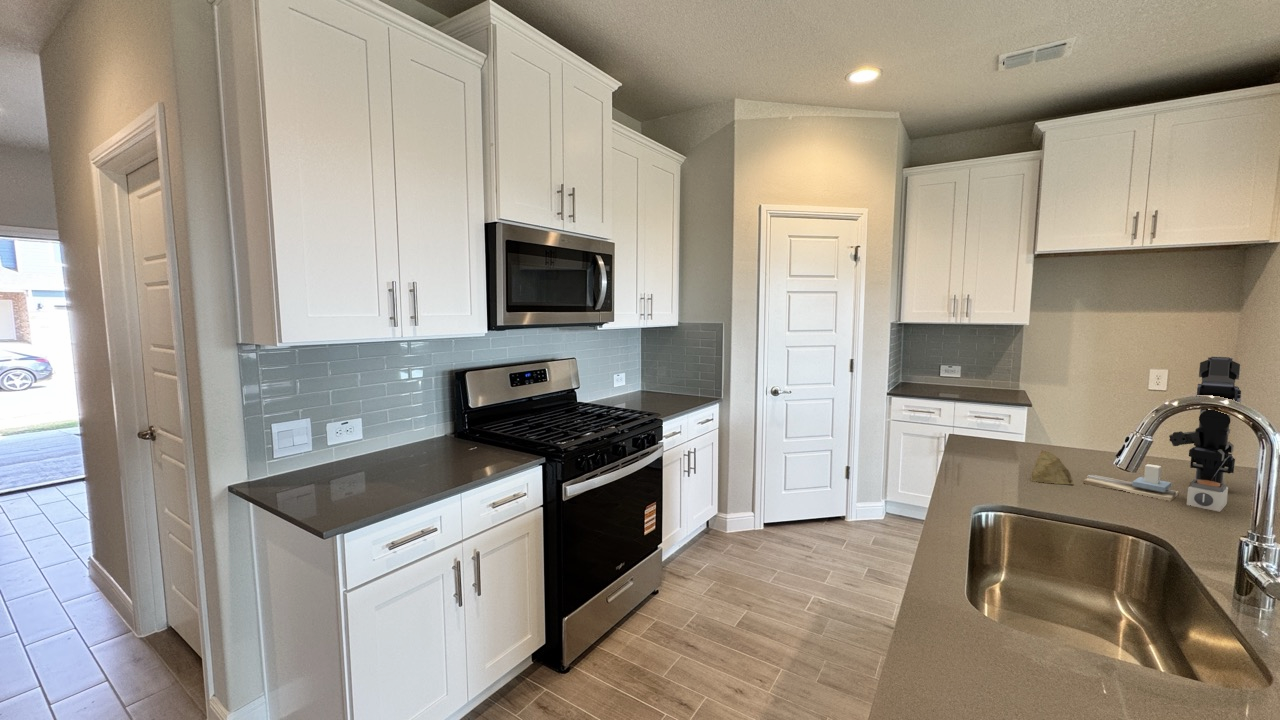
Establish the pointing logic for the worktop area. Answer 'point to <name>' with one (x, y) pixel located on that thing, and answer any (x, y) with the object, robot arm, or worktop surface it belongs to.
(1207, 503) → the gauge cabinet
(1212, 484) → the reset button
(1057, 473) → the rock
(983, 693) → the worktop surface
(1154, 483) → the carriage
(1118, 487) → the rail
